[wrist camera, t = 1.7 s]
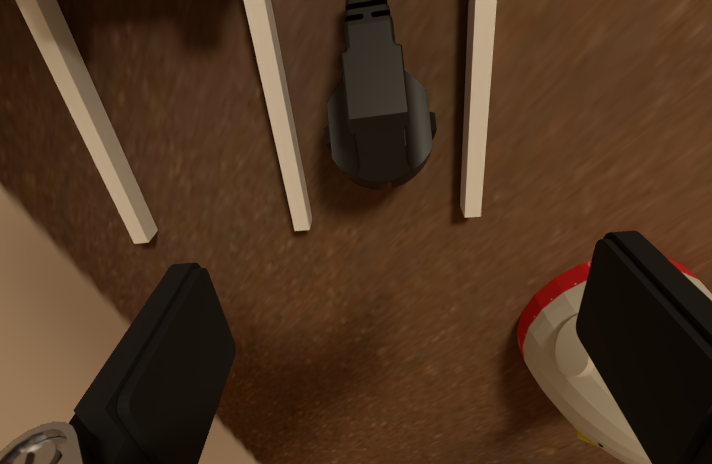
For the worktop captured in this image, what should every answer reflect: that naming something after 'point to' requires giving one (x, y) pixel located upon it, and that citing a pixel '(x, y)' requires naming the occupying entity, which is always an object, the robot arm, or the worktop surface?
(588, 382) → the kitchen timer
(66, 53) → the cable organizer
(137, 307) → the worktop surface
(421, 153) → the power plug
